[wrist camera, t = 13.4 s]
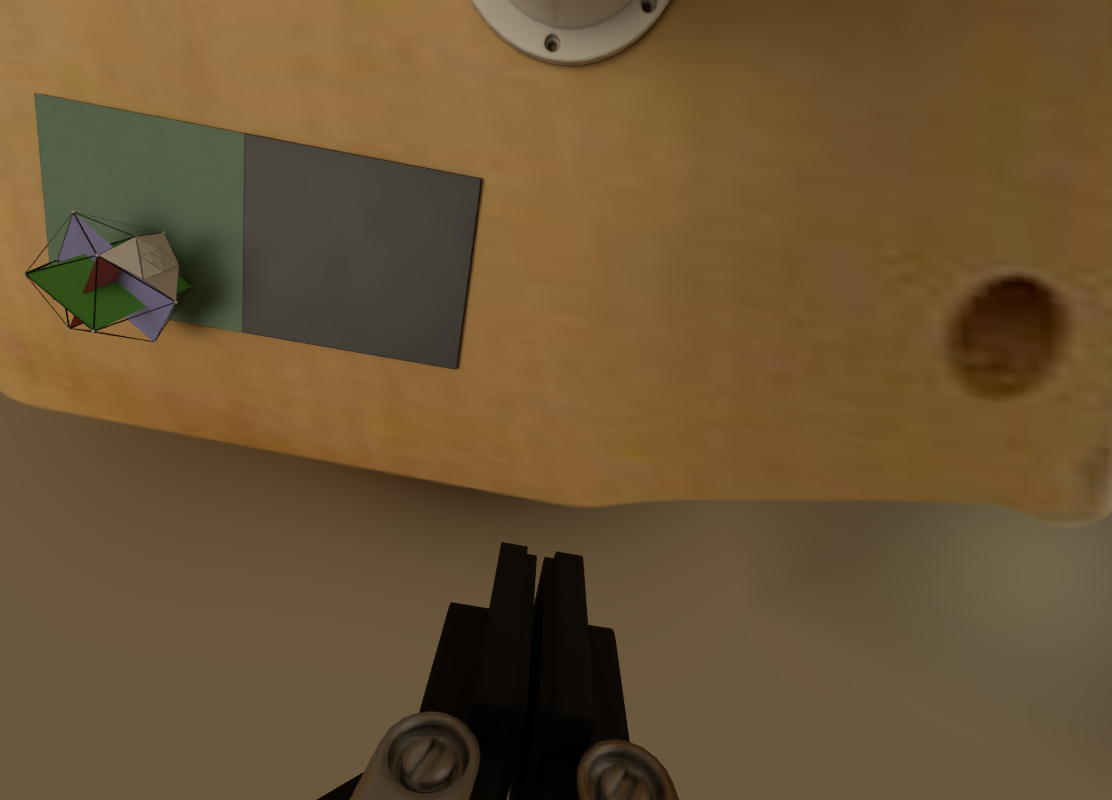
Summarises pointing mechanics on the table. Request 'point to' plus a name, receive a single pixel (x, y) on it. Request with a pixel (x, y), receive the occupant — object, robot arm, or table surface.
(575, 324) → the table surface
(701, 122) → the table surface
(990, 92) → the table surface
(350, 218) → the desk pad
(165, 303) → the geometric puzzle
